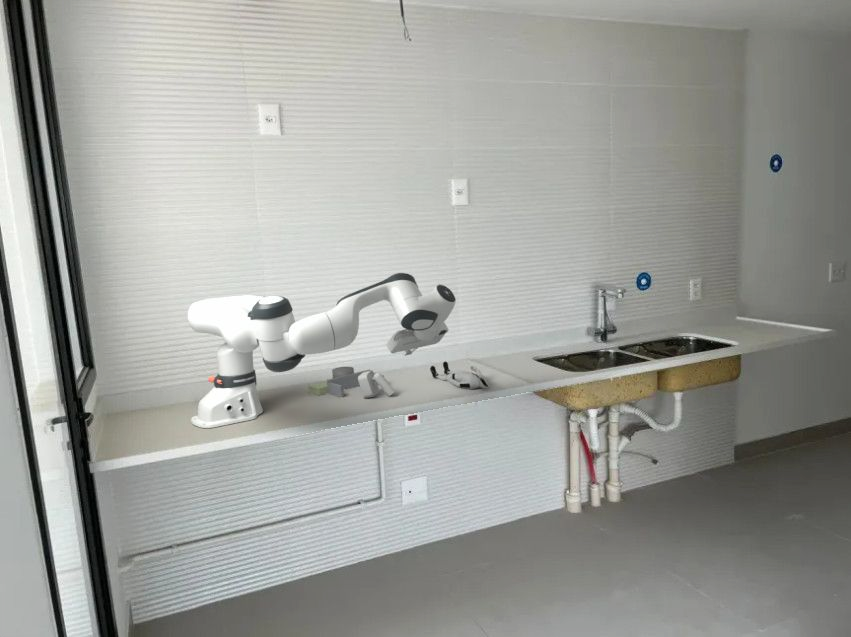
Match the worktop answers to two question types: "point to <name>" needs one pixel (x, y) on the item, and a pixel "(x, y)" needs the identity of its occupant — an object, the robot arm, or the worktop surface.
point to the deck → (338, 382)
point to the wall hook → (373, 384)
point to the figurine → (462, 377)
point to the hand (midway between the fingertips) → (406, 353)
